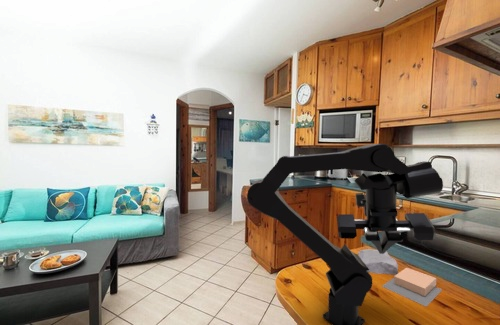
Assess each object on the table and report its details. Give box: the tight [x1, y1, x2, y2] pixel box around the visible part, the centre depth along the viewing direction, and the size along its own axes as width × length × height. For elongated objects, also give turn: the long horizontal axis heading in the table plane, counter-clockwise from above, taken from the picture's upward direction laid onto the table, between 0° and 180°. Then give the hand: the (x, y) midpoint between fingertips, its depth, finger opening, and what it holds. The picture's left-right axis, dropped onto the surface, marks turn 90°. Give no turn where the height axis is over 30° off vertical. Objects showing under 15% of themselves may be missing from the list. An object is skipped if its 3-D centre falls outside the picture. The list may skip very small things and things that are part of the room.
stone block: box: [357, 248, 399, 276], centre depth 72 cm, size 12×5×10 cm
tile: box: [393, 267, 437, 296], centre depth 61 cm, size 2×7×8 cm
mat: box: [381, 277, 443, 307], centre depth 60 cm, size 11×10×1 cm
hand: (381, 252), depth 54 cm, fingers closed
